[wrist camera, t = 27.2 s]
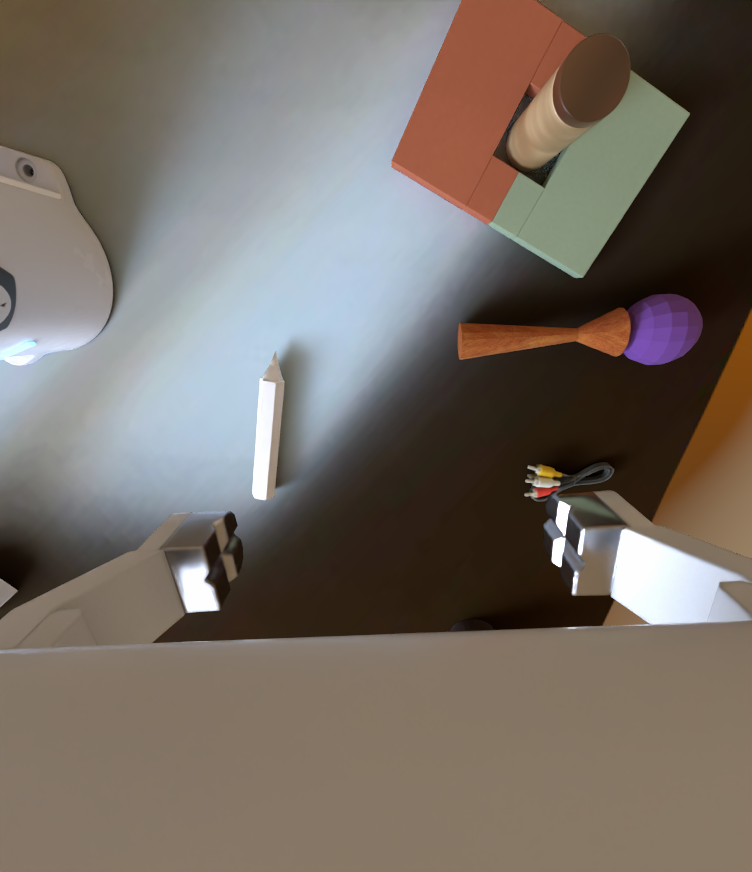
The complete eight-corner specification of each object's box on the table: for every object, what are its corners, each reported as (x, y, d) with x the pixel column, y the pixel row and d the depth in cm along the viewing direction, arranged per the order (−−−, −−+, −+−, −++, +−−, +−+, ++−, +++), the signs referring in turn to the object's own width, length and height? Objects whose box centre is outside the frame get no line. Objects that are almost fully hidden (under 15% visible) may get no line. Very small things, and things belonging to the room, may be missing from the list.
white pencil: (281, 348, 38) (270, 488, 43) (260, 346, 37) (251, 490, 42) (289, 354, 36) (276, 499, 41) (266, 352, 35) (256, 502, 40)
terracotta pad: (391, 166, 31) (391, 161, 30) (474, -25, 27) (479, -42, 26) (487, 225, 33) (491, 222, 31) (581, 52, 29) (591, 40, 27)
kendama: (463, 302, 31) (725, 284, 29) (456, 312, 37) (673, 298, 35) (464, 374, 32) (716, 362, 30) (456, 373, 38) (668, 363, 36)
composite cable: (612, 458, 41) (625, 469, 38) (602, 497, 42) (615, 509, 40) (520, 458, 41) (529, 468, 39) (515, 497, 43) (522, 509, 40)
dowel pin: (496, 157, 31) (545, 100, 22) (522, 102, 30) (587, 16, 20) (537, 181, 32) (601, 135, 22) (564, 128, 30) (646, 56, 21)
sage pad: (487, 225, 33) (491, 222, 31) (581, 52, 29) (591, 40, 27) (575, 278, 34) (583, 277, 33) (676, 121, 30) (691, 113, 29)
